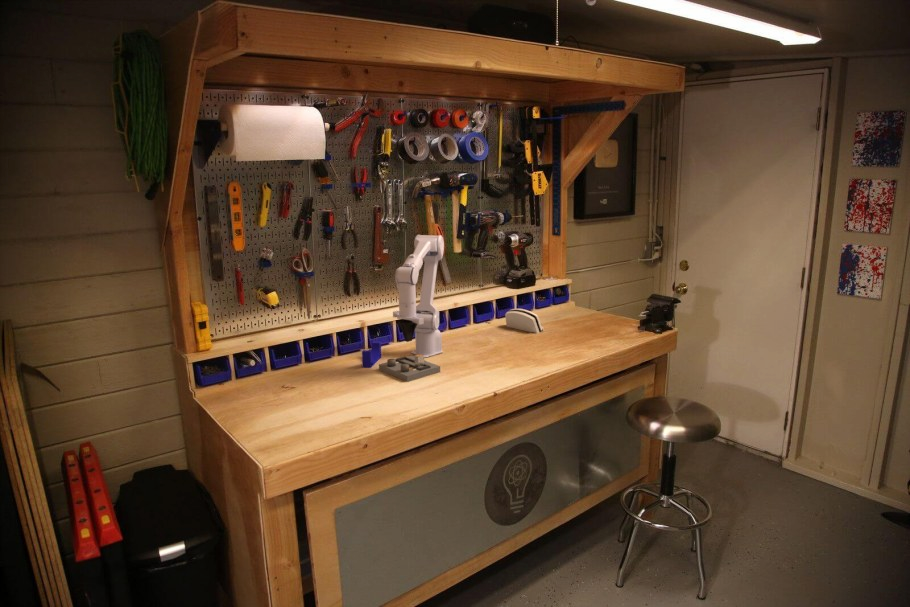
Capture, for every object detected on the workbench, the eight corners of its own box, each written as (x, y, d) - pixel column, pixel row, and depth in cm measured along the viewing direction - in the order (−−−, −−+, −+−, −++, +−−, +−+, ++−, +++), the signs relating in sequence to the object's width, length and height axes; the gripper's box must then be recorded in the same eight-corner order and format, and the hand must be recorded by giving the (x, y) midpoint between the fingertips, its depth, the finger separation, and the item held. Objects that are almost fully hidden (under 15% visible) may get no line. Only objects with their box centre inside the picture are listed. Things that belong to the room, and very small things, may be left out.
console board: (411, 360, 219) (410, 350, 218) (440, 371, 207) (440, 360, 206) (379, 369, 210) (378, 358, 209) (407, 381, 198) (407, 370, 197)
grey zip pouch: (544, 330, 255) (540, 310, 251) (538, 336, 252) (534, 316, 248) (513, 324, 266) (508, 304, 262) (506, 329, 264) (502, 309, 259)
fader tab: (420, 364, 208) (420, 353, 207) (424, 366, 206) (423, 354, 206) (414, 366, 206) (414, 355, 205) (418, 368, 205) (417, 356, 204)
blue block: (369, 357, 225) (369, 341, 223) (381, 357, 224) (380, 341, 222) (358, 367, 213) (357, 351, 212) (370, 368, 212) (370, 351, 211)
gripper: (385, 300, 208) (386, 338, 211) (411, 307, 198) (412, 348, 201) (401, 297, 213) (402, 334, 216) (428, 304, 202) (429, 343, 205)
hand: (408, 340), depth 209 cm, fingers closed
